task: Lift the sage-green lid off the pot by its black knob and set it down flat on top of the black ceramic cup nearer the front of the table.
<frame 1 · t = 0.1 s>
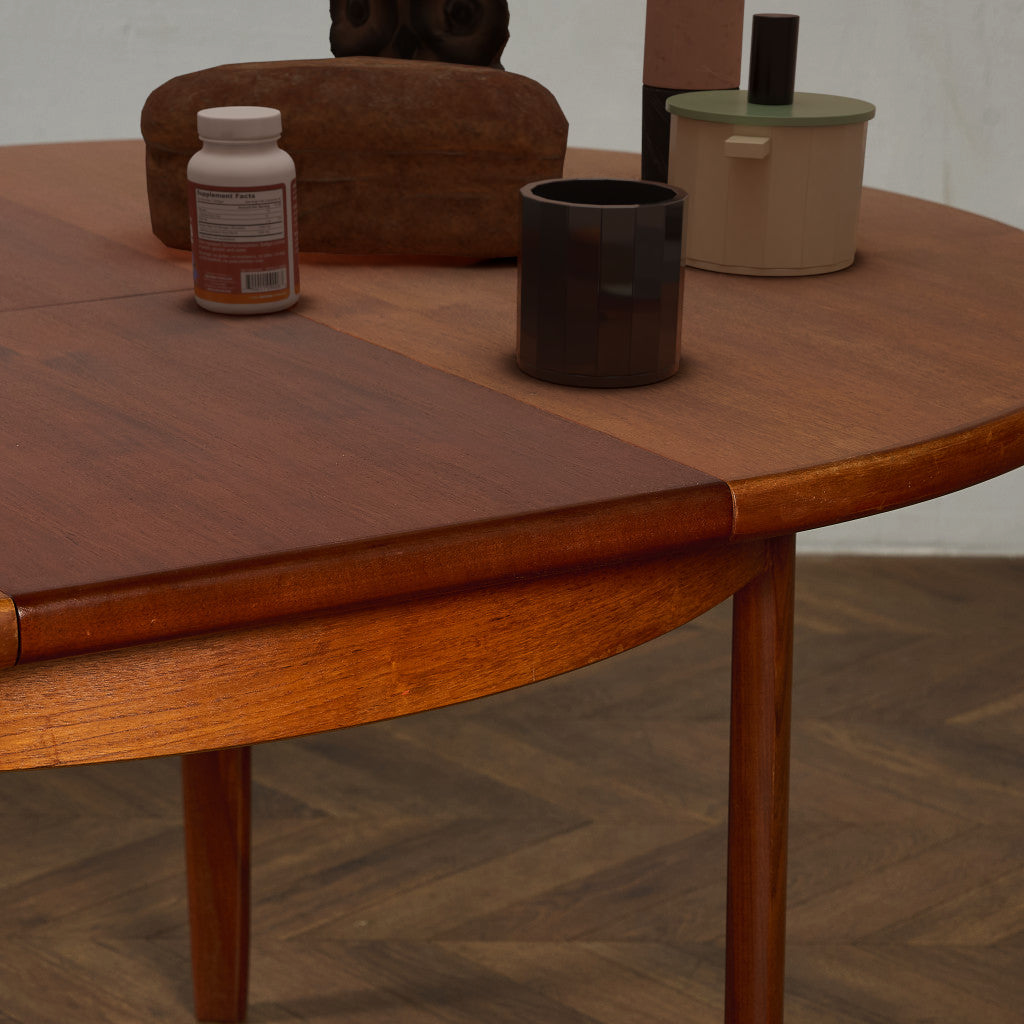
cup: (597, 364, 85), on the table
pill bottle: (248, 307, 96), on the table
pot: (759, 255, 110), on the table
bread: (358, 249, 111), on the table
lid: (769, 112, 107), point 9 cm above the table, touching pot
owl: (435, 189, 133), on the table
travel mug: (685, 196, 131), on the table
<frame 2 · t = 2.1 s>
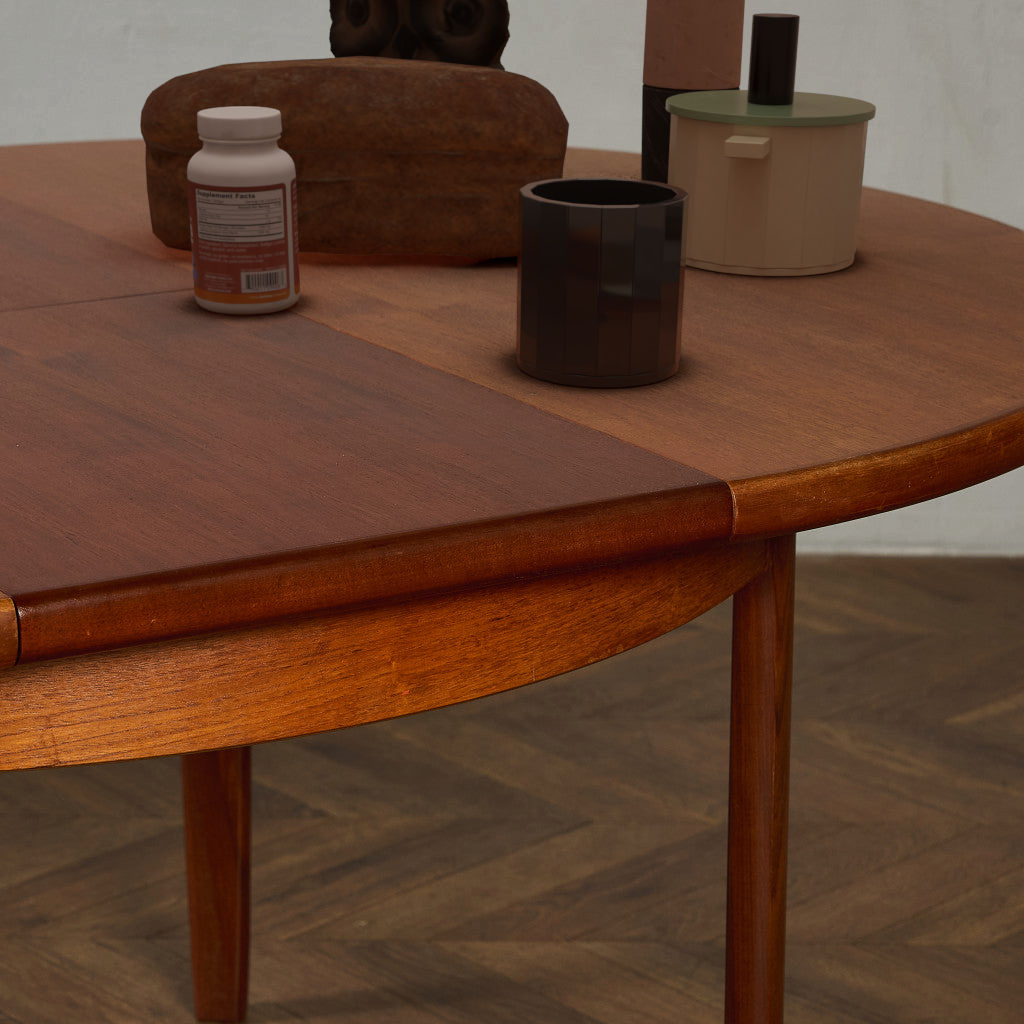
nothing on the table moved.
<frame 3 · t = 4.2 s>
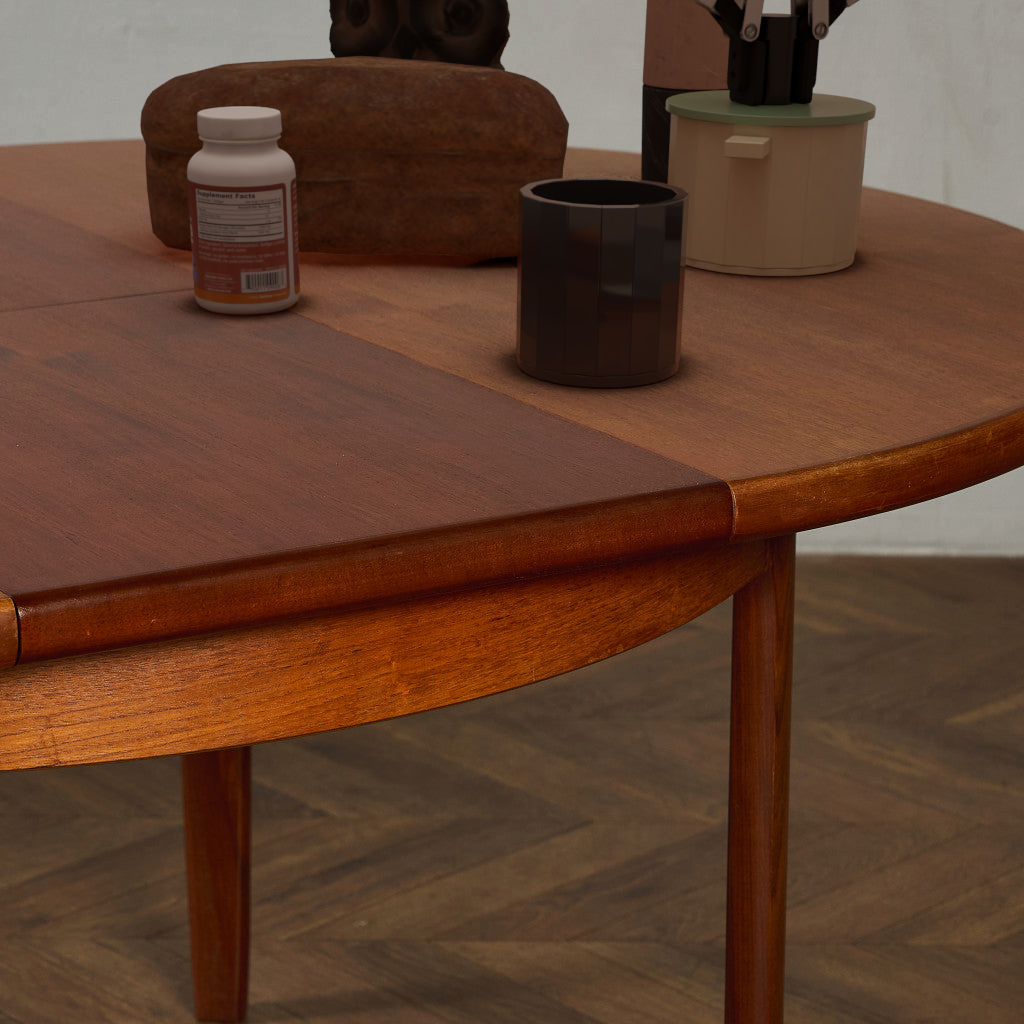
hand: (770, 99, 107), 10 cm above the table, tool pointing down, fingers closed on lid, 3 cm apart
lid: (769, 112, 107), point 10 cm above the table, touching gripper, pot
everything else where it was.
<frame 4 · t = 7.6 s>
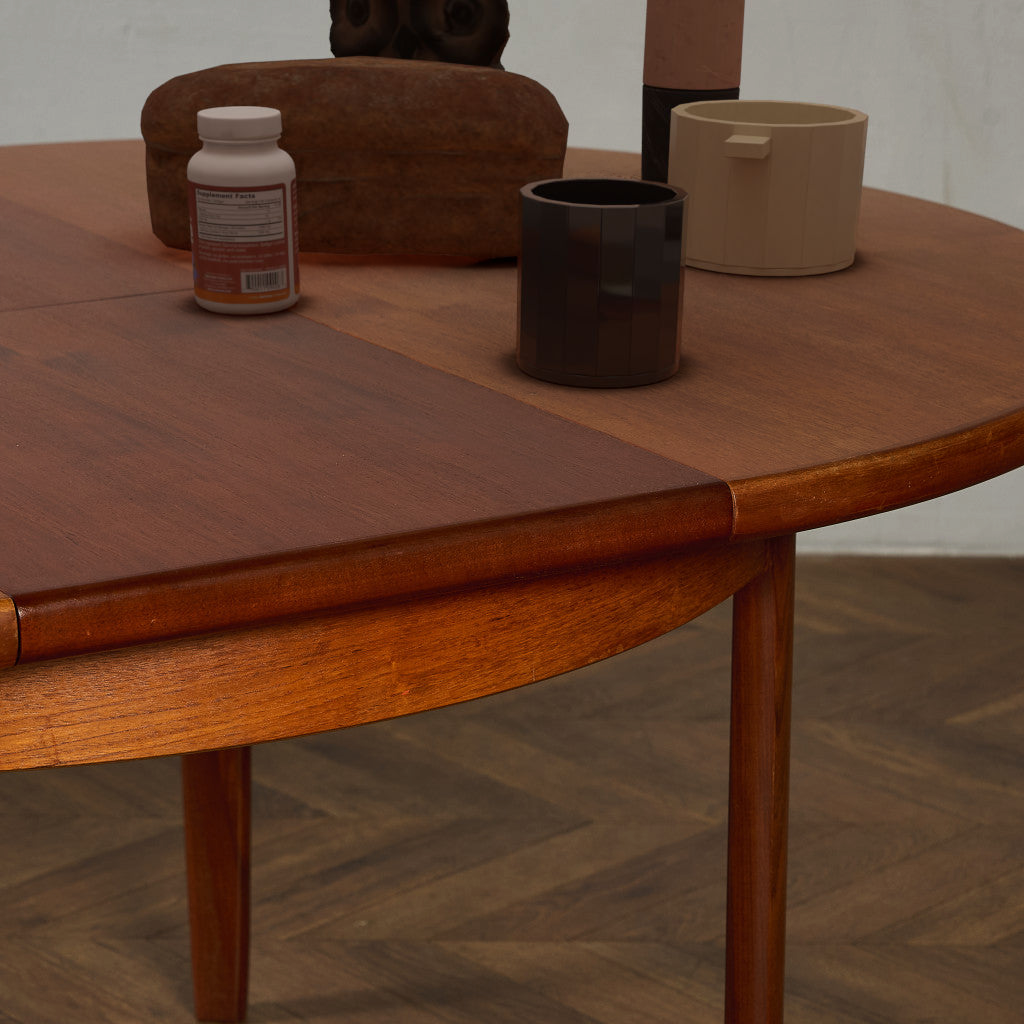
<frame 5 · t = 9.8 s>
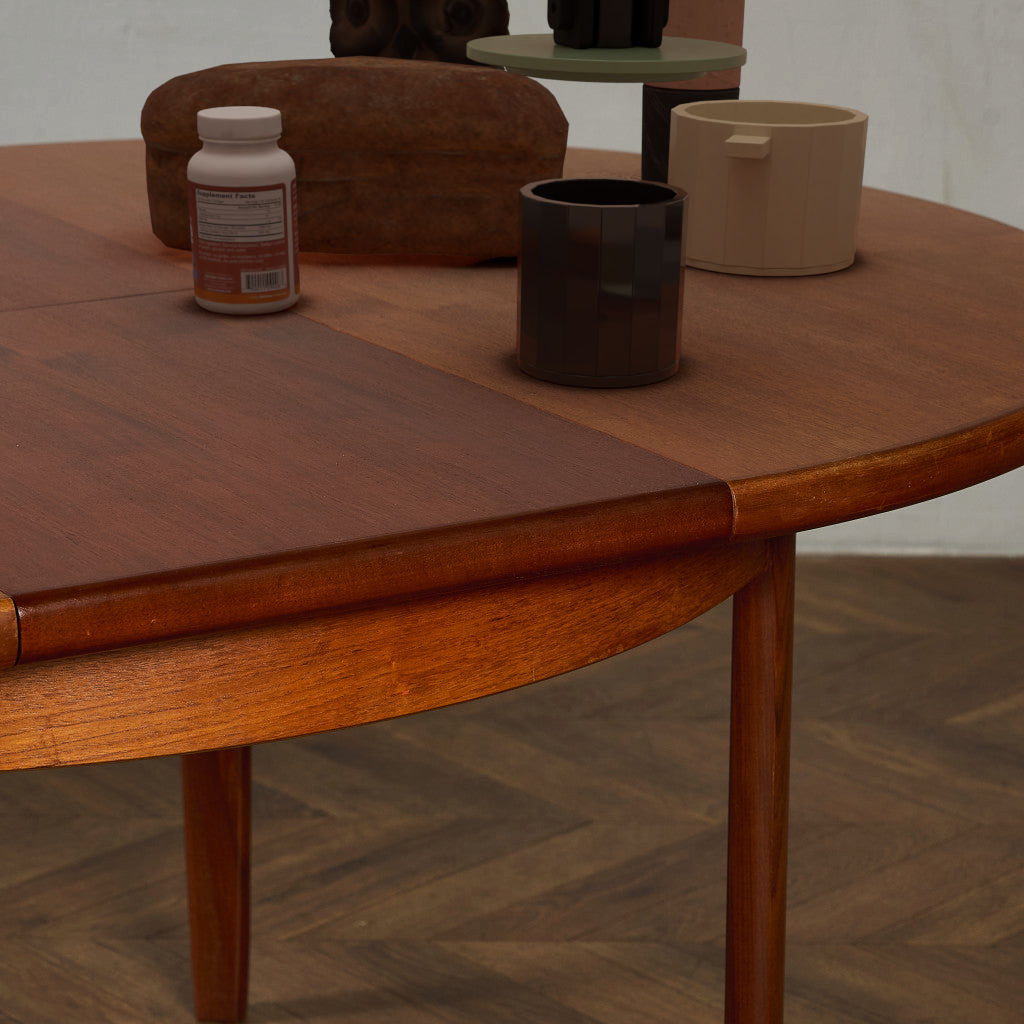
hand: (607, 41, 79), 16 cm above the table, tool pointing down, fingers closed on lid, 3 cm apart
lid: (605, 58, 79), point 15 cm above the table, touching gripper
everything else where it was.
when the fingers open (10 cm above the table, at t = 11.3 s): lid stays where it is, resting on cup.
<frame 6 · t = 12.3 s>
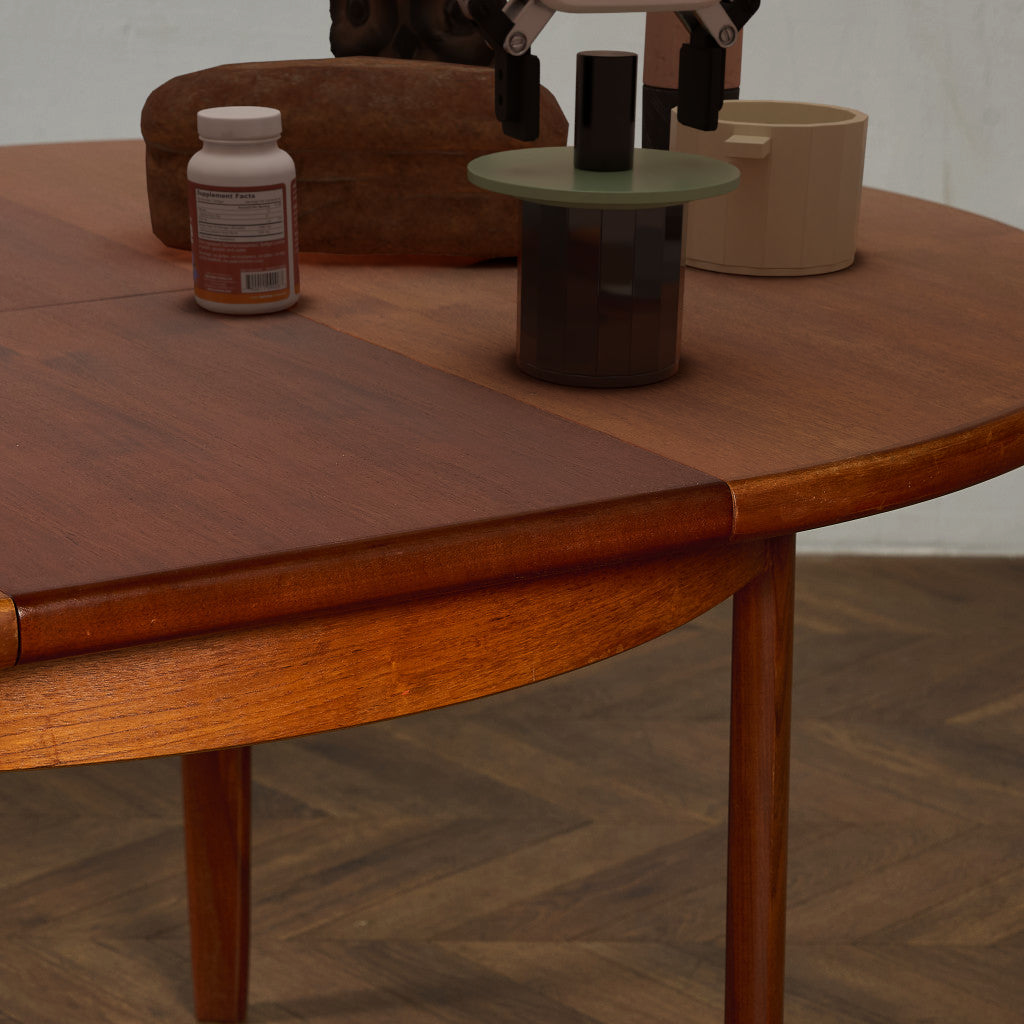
hand: (610, 132, 81), 12 cm above the table, tool pointing down, fingers open, 9 cm apart
cup: (597, 364, 85), on the table, touching lid
lid: (602, 179, 82), point 10 cm above the table, touching cup
everything else where it was.
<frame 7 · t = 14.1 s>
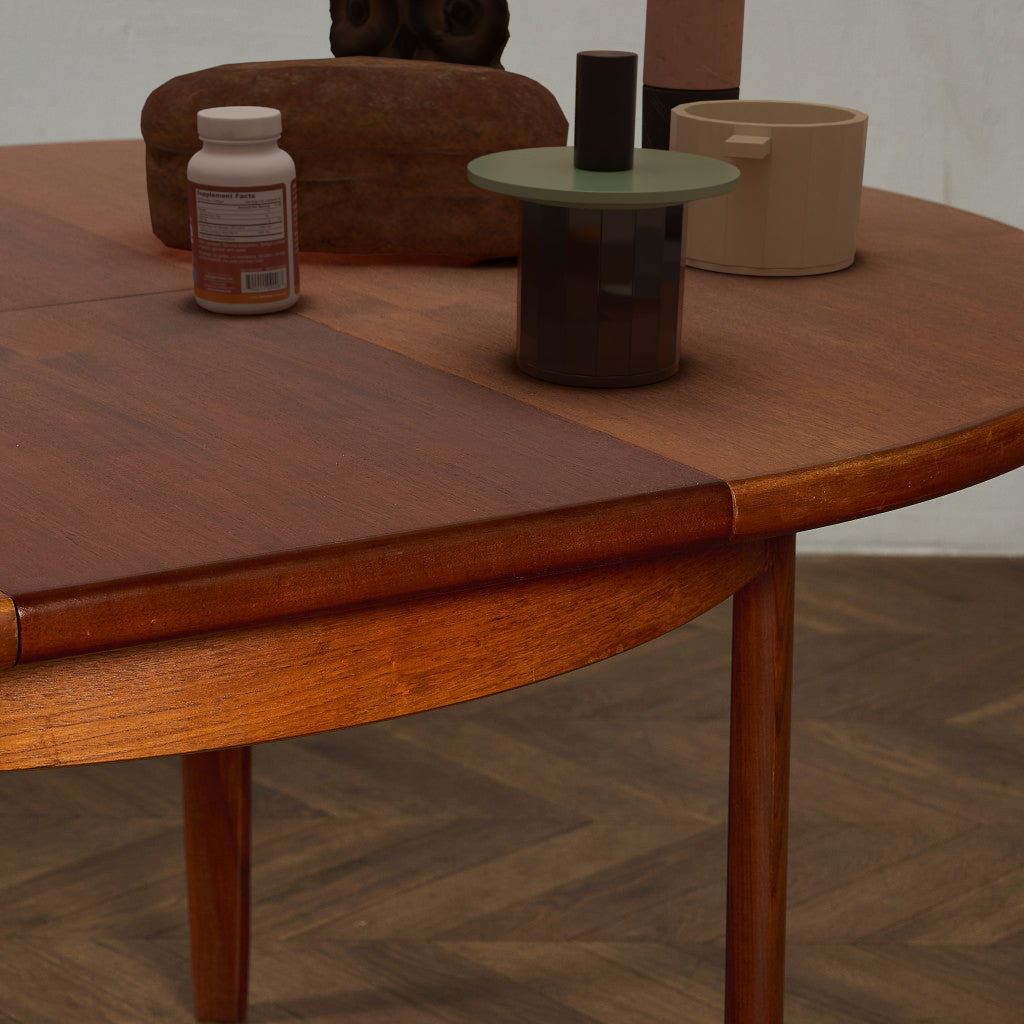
nothing on the table moved.
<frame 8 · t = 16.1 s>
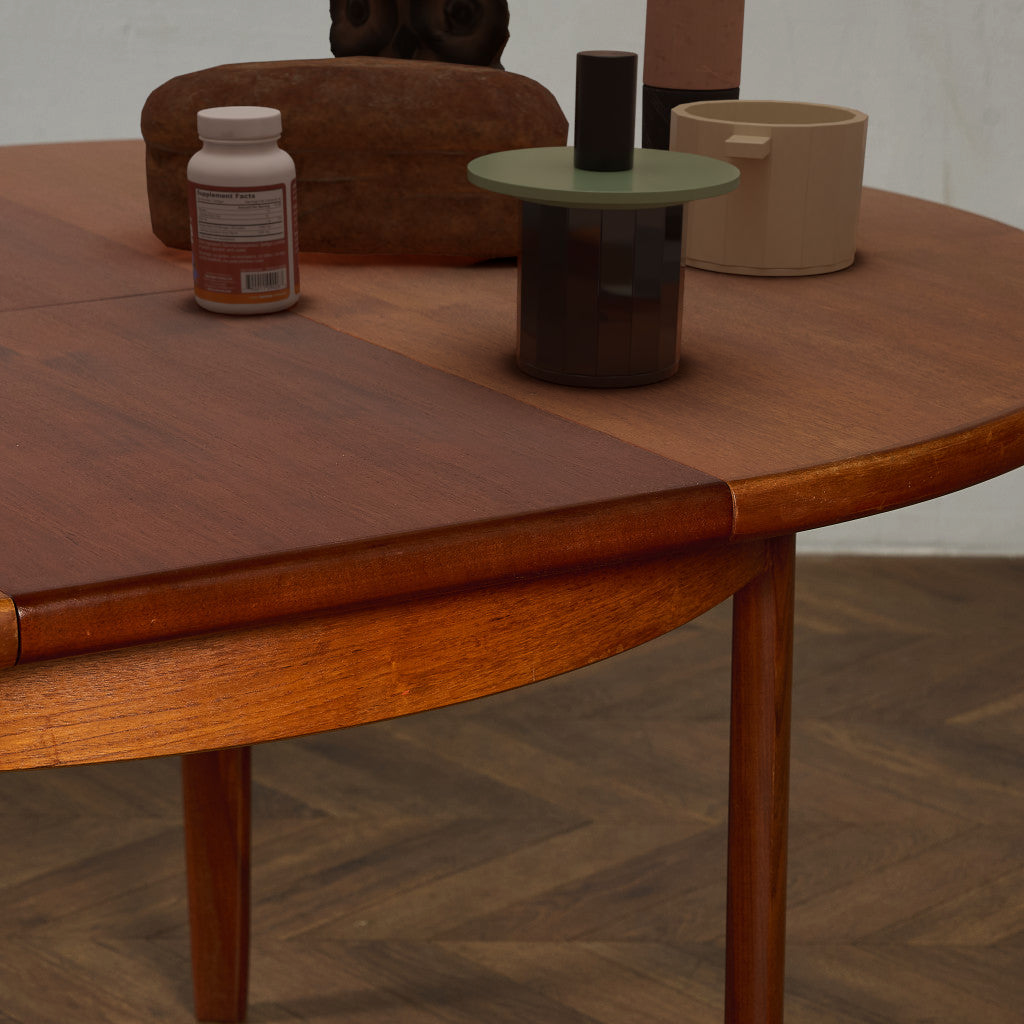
nothing on the table moved.
at the end: lid 0.1 cm off-centre on the cup, point 9.6 cm above the cup's base; lid tilted 0°; cup tilted 0° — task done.
